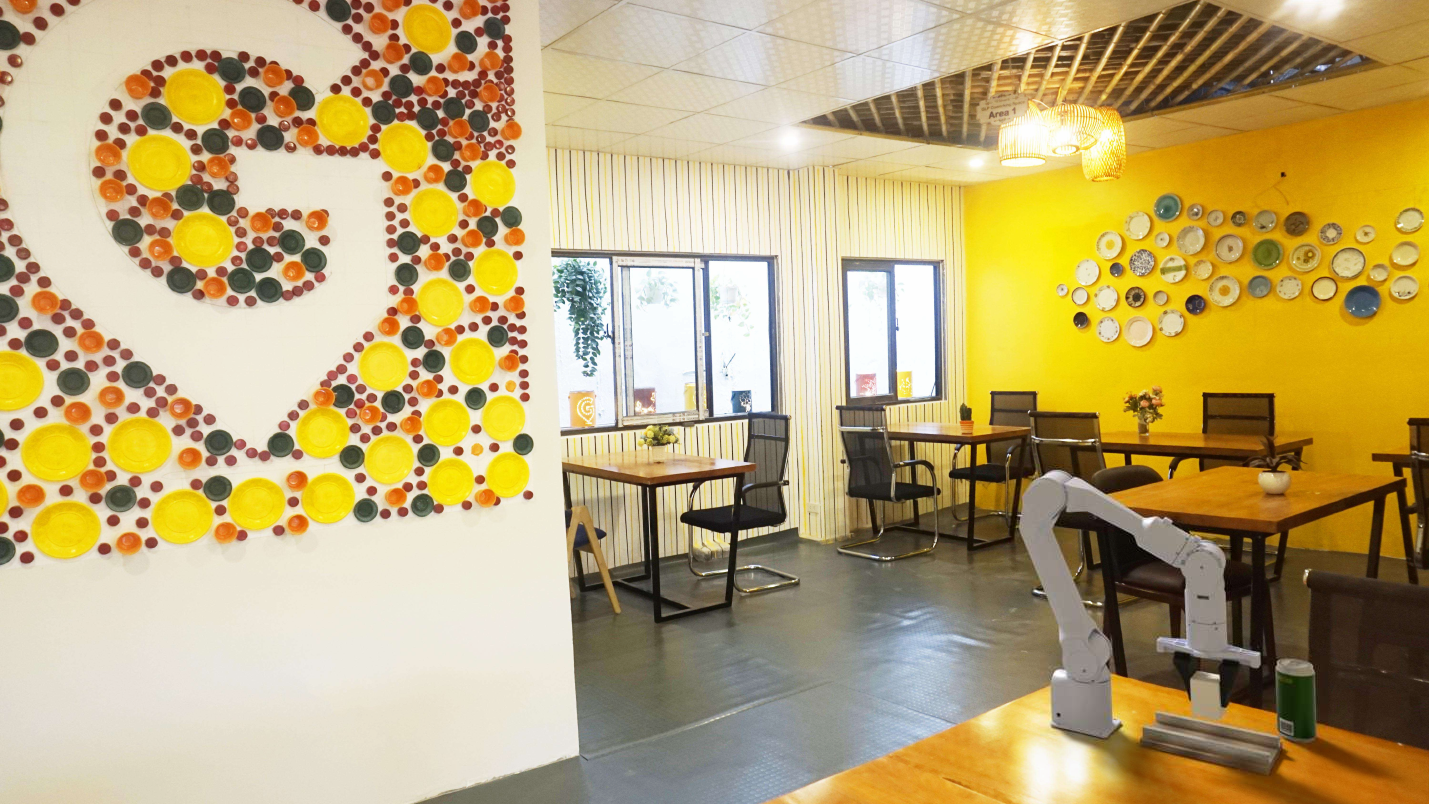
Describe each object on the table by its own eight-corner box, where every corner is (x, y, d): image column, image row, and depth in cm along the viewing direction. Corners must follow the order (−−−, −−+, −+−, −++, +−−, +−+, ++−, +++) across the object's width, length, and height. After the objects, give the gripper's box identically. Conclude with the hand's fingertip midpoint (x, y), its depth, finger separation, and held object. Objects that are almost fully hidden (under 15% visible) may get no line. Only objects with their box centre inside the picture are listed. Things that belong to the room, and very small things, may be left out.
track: (1139, 745, 145) (1139, 730, 145) (1160, 721, 153) (1159, 707, 153) (1267, 775, 133) (1267, 758, 133) (1282, 748, 141) (1281, 732, 141)
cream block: (1191, 715, 143) (1190, 678, 142) (1198, 706, 146) (1196, 670, 145) (1219, 721, 140) (1218, 683, 140) (1225, 712, 143) (1224, 675, 142)
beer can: (1307, 746, 141) (1305, 672, 141) (1271, 735, 146) (1268, 663, 145) (1322, 736, 144) (1321, 664, 144) (1286, 726, 149) (1284, 655, 148)
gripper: (1149, 618, 144) (1152, 700, 145) (1252, 633, 134) (1255, 721, 135) (1162, 607, 149) (1165, 686, 150) (1262, 620, 139) (1265, 705, 140)
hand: (1208, 702), depth 143 cm, fingers closed on cream block, 4 cm apart
